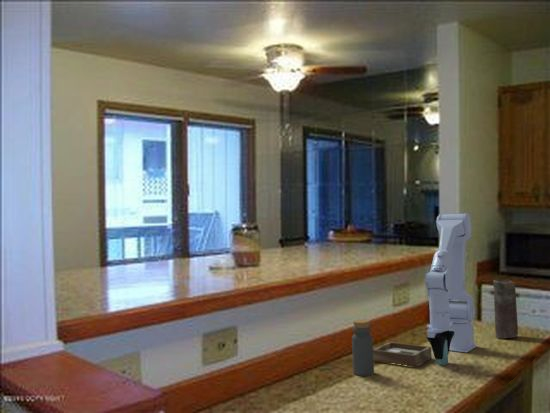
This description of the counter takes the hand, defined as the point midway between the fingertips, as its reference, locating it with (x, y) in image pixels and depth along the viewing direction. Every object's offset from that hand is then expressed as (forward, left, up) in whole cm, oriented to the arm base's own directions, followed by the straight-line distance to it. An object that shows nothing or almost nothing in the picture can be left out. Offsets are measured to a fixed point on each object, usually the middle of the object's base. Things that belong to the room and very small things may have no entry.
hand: (441, 357), depth 169 cm
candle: (-42, +6, -2) cm, 42 cm away
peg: (0, 0, -2) cm, 2 cm away
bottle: (+20, -15, -2) cm, 25 cm away
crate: (+2, -12, -2) cm, 12 cm away
